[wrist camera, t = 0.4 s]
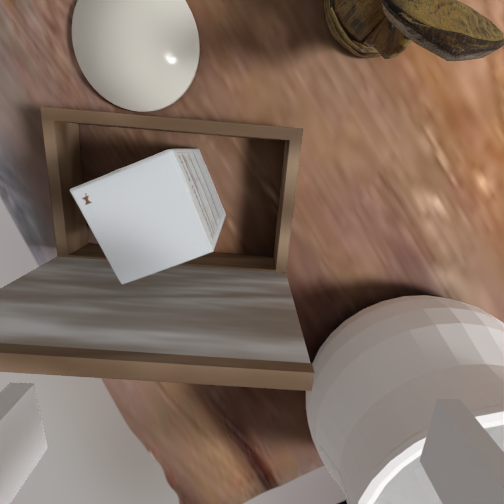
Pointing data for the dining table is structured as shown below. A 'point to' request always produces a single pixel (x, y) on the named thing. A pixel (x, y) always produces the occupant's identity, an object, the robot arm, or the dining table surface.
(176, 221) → the supplement box
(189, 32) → the saucer
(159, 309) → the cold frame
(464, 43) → the wooden mug
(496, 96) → the dining table surface
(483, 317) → the pot
